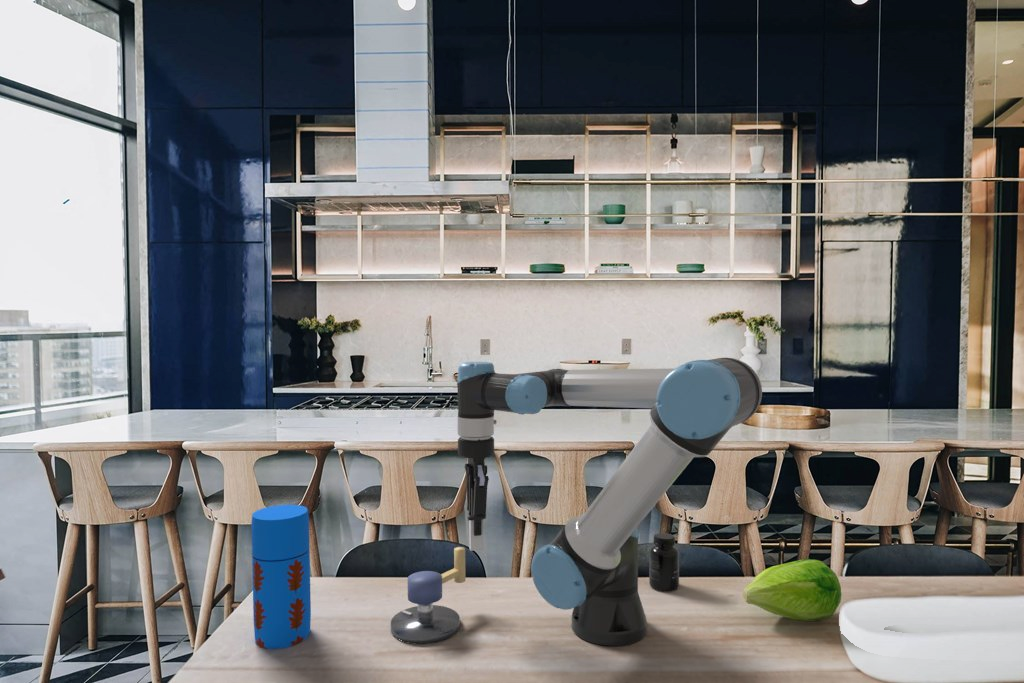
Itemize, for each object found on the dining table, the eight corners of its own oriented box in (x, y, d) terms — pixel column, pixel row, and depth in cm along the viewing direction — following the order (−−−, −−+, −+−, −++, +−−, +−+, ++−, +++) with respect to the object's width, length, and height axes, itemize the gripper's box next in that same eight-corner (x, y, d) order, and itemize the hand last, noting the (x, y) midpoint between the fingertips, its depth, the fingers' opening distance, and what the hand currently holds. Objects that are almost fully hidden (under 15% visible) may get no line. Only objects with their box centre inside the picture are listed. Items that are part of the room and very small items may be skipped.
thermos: (274, 655, 124) (271, 523, 123) (242, 638, 131) (240, 514, 130) (322, 632, 133) (319, 510, 132) (290, 618, 139) (288, 501, 138)
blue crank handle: (425, 608, 130) (425, 573, 129) (400, 600, 134) (400, 566, 134) (475, 582, 142) (475, 550, 142) (451, 575, 146) (451, 544, 146)
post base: (473, 623, 136) (473, 594, 136) (427, 651, 125) (426, 620, 125) (424, 606, 145) (423, 579, 144) (376, 631, 133) (375, 602, 133)
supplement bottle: (682, 592, 151) (682, 540, 150) (652, 592, 151) (652, 540, 150) (675, 580, 158) (675, 531, 157) (646, 580, 158) (646, 531, 157)
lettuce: (728, 607, 143) (728, 553, 142) (815, 602, 145) (815, 548, 145) (760, 638, 129) (760, 578, 129) (855, 631, 131) (856, 572, 131)
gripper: (500, 441, 131) (501, 558, 132) (487, 430, 143) (487, 537, 144) (463, 443, 129) (464, 562, 130) (453, 431, 142) (453, 540, 142)
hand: (476, 548), depth 137 cm, fingers closed
